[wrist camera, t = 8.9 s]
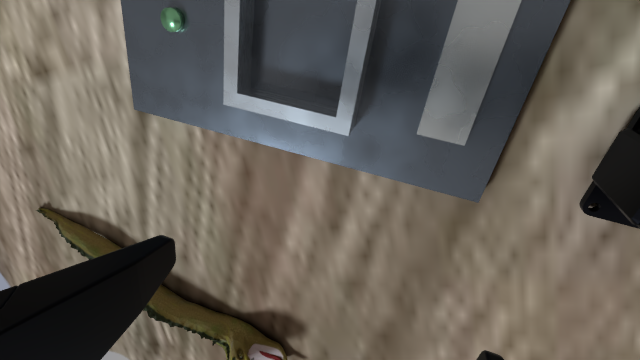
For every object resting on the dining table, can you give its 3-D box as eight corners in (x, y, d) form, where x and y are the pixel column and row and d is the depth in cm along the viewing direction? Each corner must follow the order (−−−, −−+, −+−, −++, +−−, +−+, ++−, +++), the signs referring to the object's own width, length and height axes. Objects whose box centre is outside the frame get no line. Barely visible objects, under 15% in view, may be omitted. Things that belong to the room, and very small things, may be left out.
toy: (291, 372, 32) (269, 428, 28) (43, 222, 33) (-15, 253, 29) (309, 350, 30) (289, 407, 26) (42, 188, 31) (-21, 217, 27)
